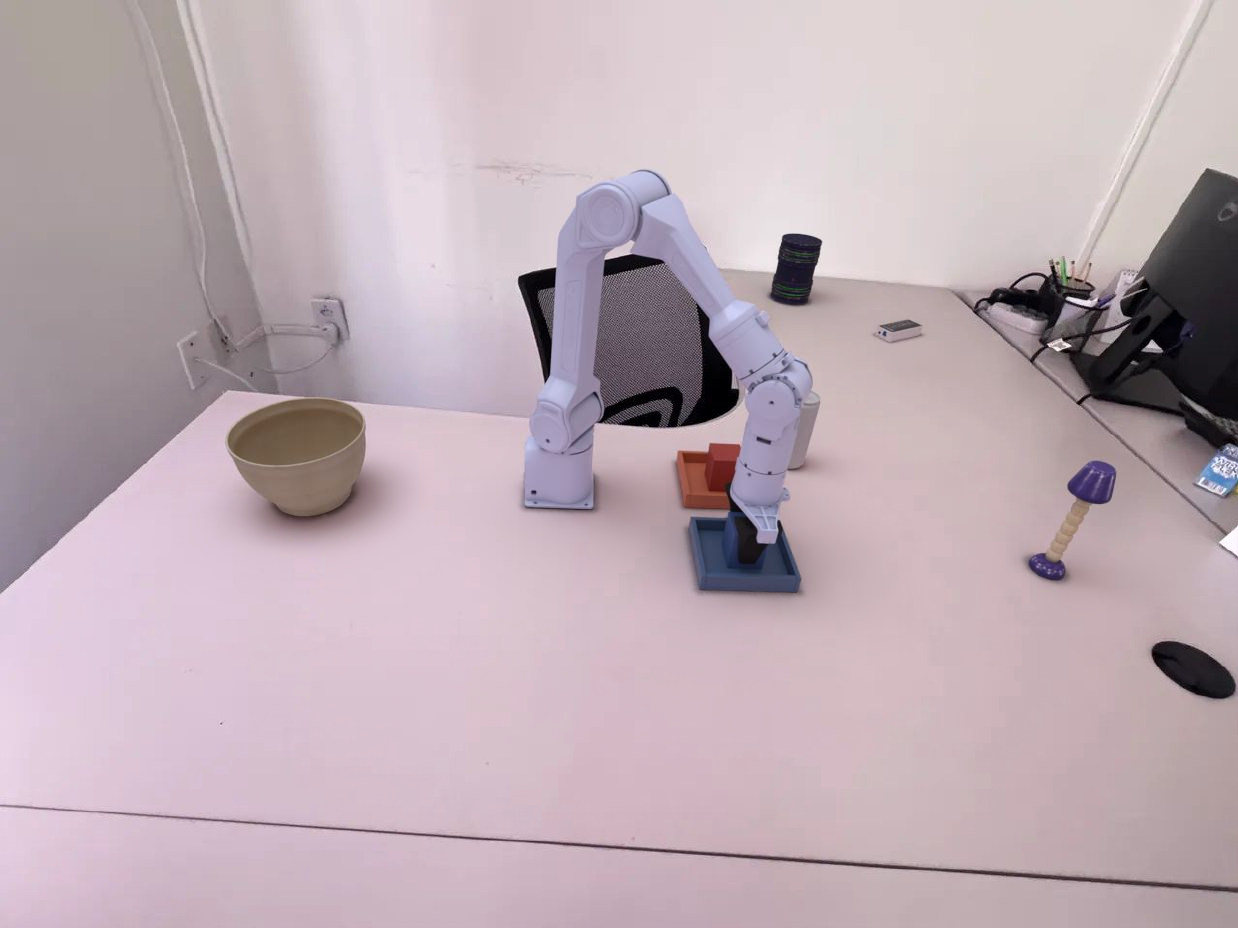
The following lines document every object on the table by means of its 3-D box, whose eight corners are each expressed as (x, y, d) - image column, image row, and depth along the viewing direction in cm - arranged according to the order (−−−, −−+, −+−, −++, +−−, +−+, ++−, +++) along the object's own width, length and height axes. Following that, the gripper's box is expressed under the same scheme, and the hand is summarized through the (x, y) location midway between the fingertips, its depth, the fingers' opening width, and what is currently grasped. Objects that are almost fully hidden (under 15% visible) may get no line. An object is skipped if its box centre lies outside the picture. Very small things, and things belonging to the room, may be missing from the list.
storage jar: (769, 302, 163) (782, 242, 154) (768, 289, 171) (780, 231, 163) (810, 307, 162) (824, 247, 154) (807, 294, 170) (821, 236, 162)
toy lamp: (1048, 585, 84) (1112, 481, 75) (1016, 562, 87) (1073, 459, 78) (1070, 574, 86) (1135, 472, 77) (1038, 552, 89) (1096, 451, 80)
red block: (708, 491, 95) (714, 460, 92) (704, 473, 99) (709, 442, 96) (738, 492, 95) (745, 461, 92) (733, 474, 99) (739, 444, 96)
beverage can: (803, 472, 101) (822, 405, 95) (772, 467, 102) (788, 400, 95) (802, 456, 105) (820, 390, 99) (772, 451, 106) (788, 385, 99)
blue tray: (699, 589, 79) (701, 576, 78) (688, 529, 88) (690, 516, 87) (797, 592, 80) (801, 578, 79) (776, 532, 89) (780, 519, 88)
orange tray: (684, 507, 92) (686, 494, 91) (676, 462, 101) (677, 450, 100) (768, 510, 93) (772, 497, 92) (753, 465, 102) (755, 453, 101)
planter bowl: (227, 493, 88) (203, 424, 82) (340, 449, 98) (327, 385, 92) (281, 553, 79) (259, 481, 73) (399, 498, 89) (389, 431, 83)
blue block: (726, 568, 82) (734, 534, 79) (721, 544, 86) (728, 511, 82) (762, 569, 82) (770, 536, 79) (754, 545, 86) (763, 512, 83)
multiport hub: (920, 335, 152) (923, 325, 151) (889, 342, 147) (892, 332, 146) (905, 328, 155) (908, 318, 154) (873, 335, 150) (876, 325, 149)
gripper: (814, 500, 70) (787, 590, 77) (782, 429, 81) (761, 513, 89) (749, 498, 69) (729, 589, 77) (727, 426, 81) (710, 511, 89)
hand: (742, 548), depth 83 cm, fingers closed on blue block, 4 cm apart
